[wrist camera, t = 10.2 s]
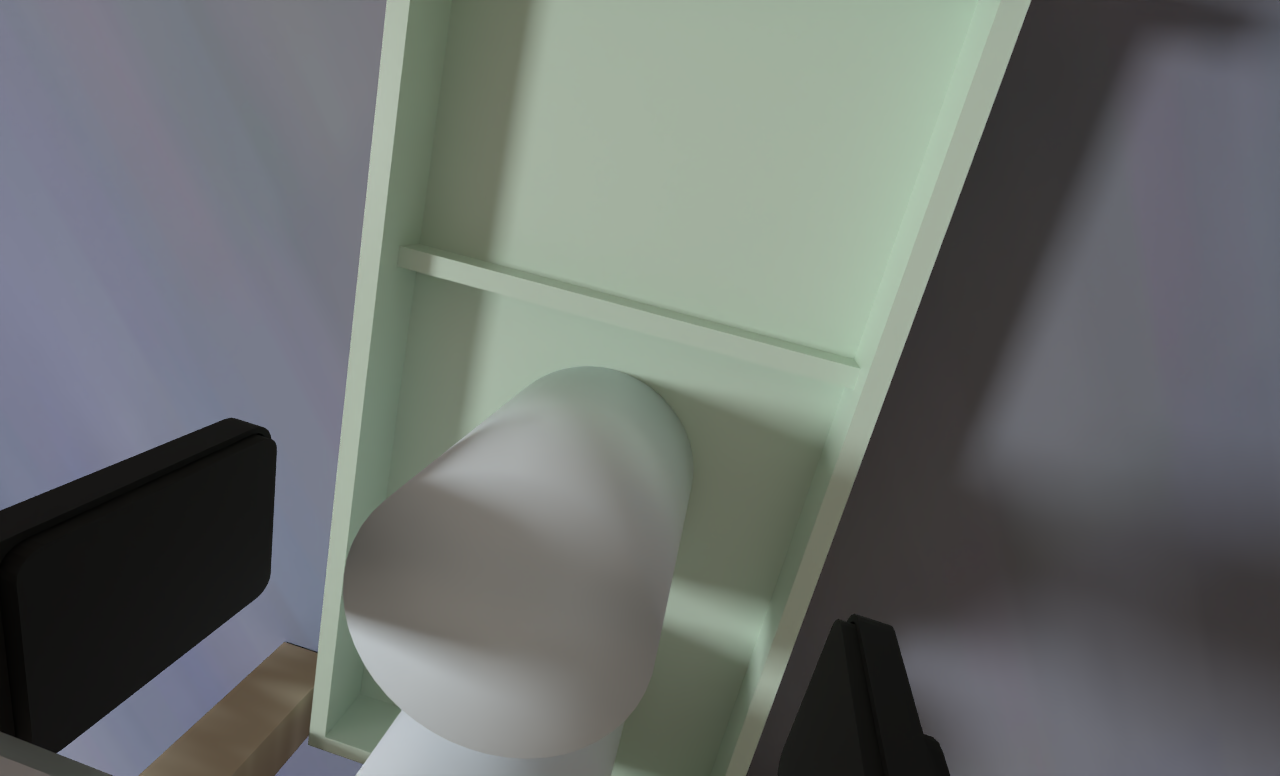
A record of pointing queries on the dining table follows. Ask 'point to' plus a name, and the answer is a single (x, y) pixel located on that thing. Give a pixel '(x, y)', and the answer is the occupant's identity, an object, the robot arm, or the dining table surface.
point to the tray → (658, 286)
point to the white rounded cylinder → (476, 756)
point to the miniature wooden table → (249, 722)
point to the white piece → (528, 568)
